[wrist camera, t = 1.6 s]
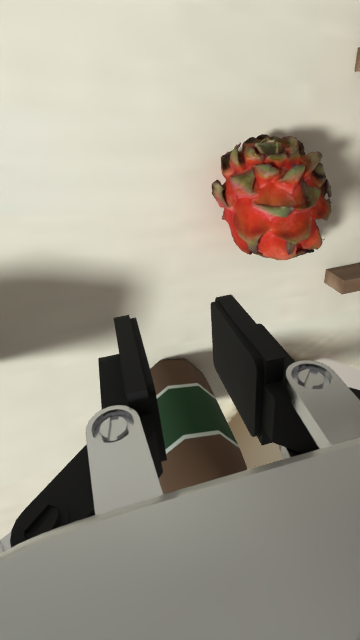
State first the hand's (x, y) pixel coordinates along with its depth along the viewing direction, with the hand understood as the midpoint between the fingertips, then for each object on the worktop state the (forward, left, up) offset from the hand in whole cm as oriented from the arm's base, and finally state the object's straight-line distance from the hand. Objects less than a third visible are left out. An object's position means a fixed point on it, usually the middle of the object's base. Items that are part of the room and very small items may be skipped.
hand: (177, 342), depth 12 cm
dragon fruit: (0, +12, -19) cm, 23 cm away
